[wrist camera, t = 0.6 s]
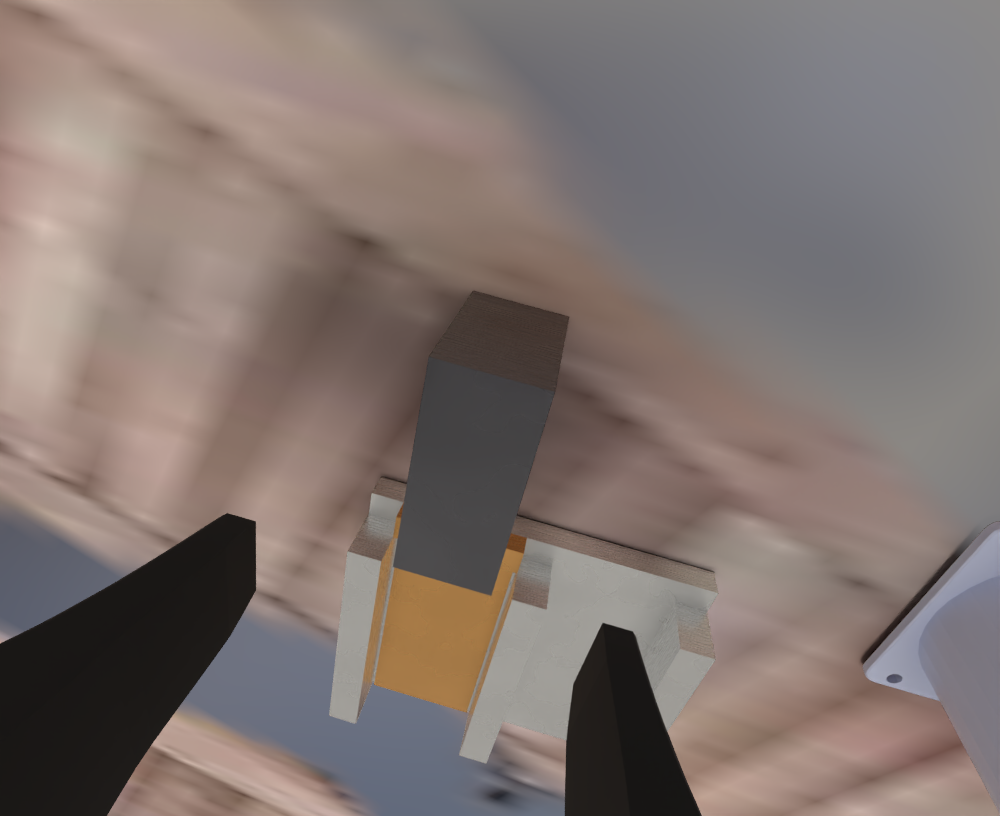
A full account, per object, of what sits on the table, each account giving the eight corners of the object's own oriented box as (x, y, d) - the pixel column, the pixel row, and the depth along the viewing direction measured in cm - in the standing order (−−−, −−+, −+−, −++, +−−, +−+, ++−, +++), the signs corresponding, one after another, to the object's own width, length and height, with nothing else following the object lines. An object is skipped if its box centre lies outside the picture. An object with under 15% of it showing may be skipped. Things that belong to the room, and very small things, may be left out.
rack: (714, 572, 21) (728, 640, 18) (618, 734, 27) (618, 804, 24) (381, 476, 22) (350, 530, 19) (356, 655, 27) (329, 715, 25)
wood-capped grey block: (569, 315, 17) (554, 392, 13) (516, 490, 21) (491, 596, 17) (474, 290, 17) (429, 356, 13) (437, 468, 21) (392, 566, 17)
